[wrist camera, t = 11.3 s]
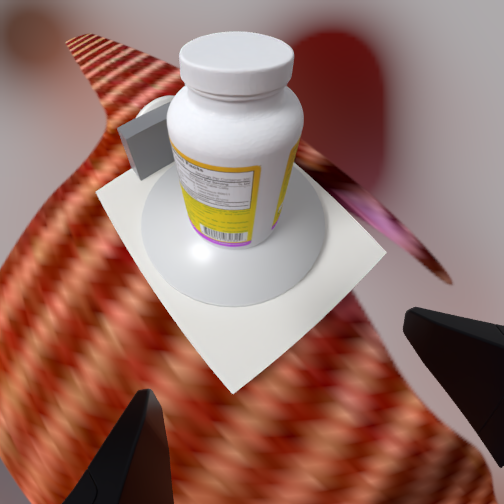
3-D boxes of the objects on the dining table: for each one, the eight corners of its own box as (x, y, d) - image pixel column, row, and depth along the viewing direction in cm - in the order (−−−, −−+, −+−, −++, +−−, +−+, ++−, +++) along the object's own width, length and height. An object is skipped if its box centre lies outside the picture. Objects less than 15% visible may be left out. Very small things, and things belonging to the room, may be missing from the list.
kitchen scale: (371, 266, 24) (422, 218, 16) (232, 391, 19) (232, 403, 11) (230, 131, 30) (231, 68, 22) (103, 204, 25) (69, 144, 17)
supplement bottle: (248, 167, 23) (261, 19, 11) (295, 227, 20) (354, 70, 9) (174, 200, 21) (138, 45, 9) (215, 270, 19) (194, 104, 7)
